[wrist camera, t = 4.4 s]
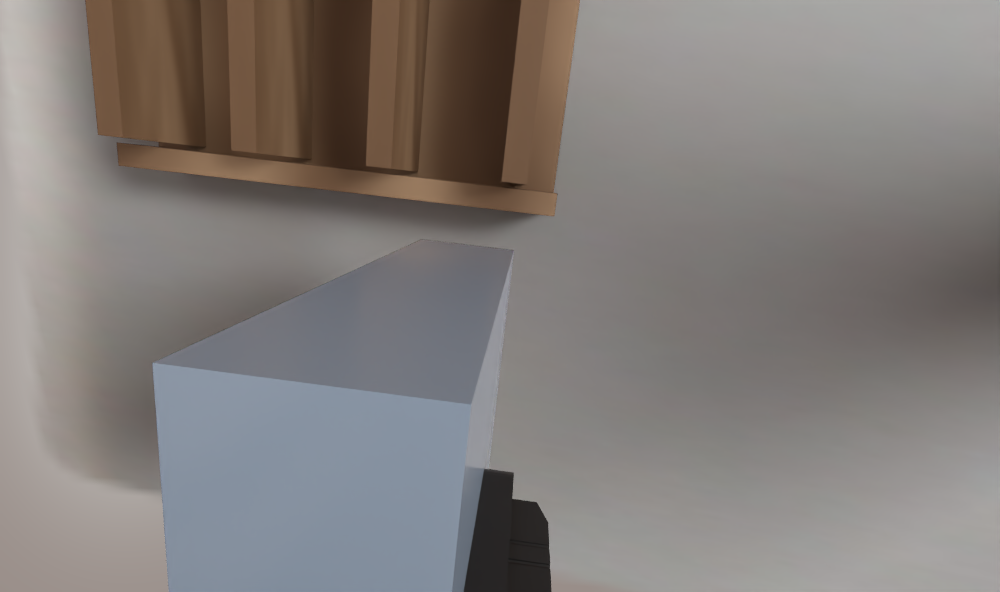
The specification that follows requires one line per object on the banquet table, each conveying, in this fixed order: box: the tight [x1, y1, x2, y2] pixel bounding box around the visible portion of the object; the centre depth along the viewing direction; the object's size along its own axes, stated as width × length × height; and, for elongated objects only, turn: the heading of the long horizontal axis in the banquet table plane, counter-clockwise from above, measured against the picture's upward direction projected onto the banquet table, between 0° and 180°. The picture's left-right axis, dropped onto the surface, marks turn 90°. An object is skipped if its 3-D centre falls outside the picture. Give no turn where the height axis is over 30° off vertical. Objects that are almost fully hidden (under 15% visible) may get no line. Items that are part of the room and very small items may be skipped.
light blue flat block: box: [152, 239, 514, 592], centre depth 9 cm, size 2×11×9 cm, turn 174°
